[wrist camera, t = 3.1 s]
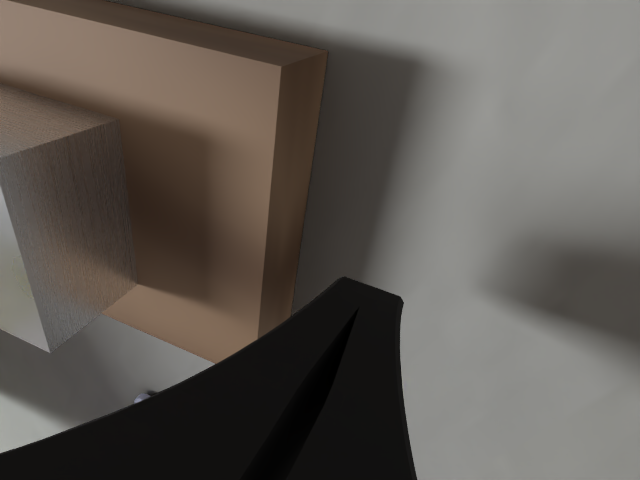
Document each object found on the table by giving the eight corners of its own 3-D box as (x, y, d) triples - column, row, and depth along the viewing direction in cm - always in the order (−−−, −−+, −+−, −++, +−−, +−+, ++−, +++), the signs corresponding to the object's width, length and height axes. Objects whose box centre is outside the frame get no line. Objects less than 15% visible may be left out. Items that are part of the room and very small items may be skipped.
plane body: (288, 327, 15) (253, 380, 13) (-76, 182, 19) (-146, 204, 17) (328, 51, 10) (281, 66, 8) (-176, -63, 14) (-289, -72, 12)
